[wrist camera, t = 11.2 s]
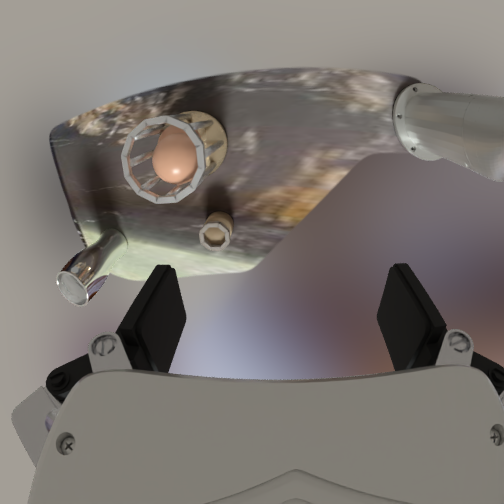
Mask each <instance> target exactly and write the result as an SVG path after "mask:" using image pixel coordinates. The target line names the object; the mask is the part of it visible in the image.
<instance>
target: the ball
mask: <svg viewBox="0 0 504 504" xmlns="http://www.w3.org/2000/svg"><path fill="white" fill-rule="evenodd" d="M195 131H196V133H197V134H198V135H199V137H200V138H201V136H200V134H199V132H198V131H197V130H195ZM175 133H184V134H186V132H185V131H184V130H183V129H180V128H178V127H176V126H173V125H170V126H169V127H167V128H166V129H165V130H164V131H163V132H162V133H161V135H160V137H159V140H158V143H159V142H160V141H161V140H162V139H163V138H165V137H167V136H169V135H171V134H175Z"/></svg>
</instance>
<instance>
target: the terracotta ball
mask: <svg viewBox="0 0 504 504" xmlns="http://www.w3.org/2000/svg"><path fill="white" fill-rule="evenodd" d="M152 161H153V167H154V170H155V172H156V173H157V175H158V176H159V177H160V178H161V179H162V180H164V181H166V182H168V183H171V184H184V183H187V182H189V181H191V180H193V177H194V175H195V173H196V171H197V169H198V162H197V152H196V146H195V145H194V143H193V142H192V141H191V139H190V138H189V136H188V135H187V134H184V133H175V134H171V135H169V136H167V137H165V138H163V139H162V140H161V141H160V142H159V143H158V145H157V146H156V148H155V150H154V153H153V159H152Z"/></svg>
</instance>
